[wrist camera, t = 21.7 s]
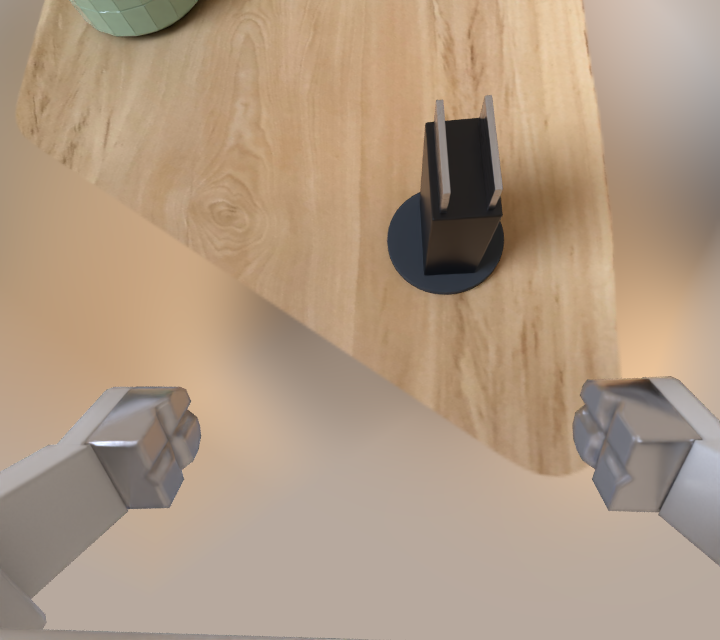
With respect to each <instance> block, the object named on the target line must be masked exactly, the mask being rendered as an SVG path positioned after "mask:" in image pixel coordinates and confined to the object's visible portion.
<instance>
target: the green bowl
mask: <svg viewBox="0 0 720 640" xmlns="http://www.w3.org/2000/svg"><path fill="white" fill-rule="evenodd" d="M69 1H70V2H71V3H72V5H73V6H74V7H75V8H76V10H77V11H78V12H79V13H80V15H81V16H82V17H83V18H84V20H85V21H86V22H88V23H89V24H90V25H92V26H93V27H94V28H95V29H97V30H98V31H101V32H104V33H107V34H111V35H114V36H139V35H144V34H150V33H153V32H157V31H159V30H162V29H164V28H166V27H168V26H170V25H172V24H173V23H175V22H177V21H178V20H179V19H181V18H182V17H183V16H184V15H185V14H186V13H187V12H189V11H190V9H191V8H192V7H193V6H194V5H195V4H196V3H197V1H198V0H69Z"/></svg>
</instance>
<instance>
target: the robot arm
mask: <svg viewBox="0 0 720 640" xmlns="http://www.w3.org/2000/svg"><path fill="white" fill-rule="evenodd" d="M580 396H581V398H582V400H583V401H584V403H585V405H584V406H582V407H581V408H580V409H579V410H578V411H576V412H575V416H574V421H573V439H574V442H575V445H576V449H577V451H578V453H579V455H580V457H581V459H582V460H583V461H584V462H586V463H587V464H588V465H590V466H591V467H593V468H594V469H595V472H594V475H593V478H592V480H593V482H594V484H595V486H596V488H597V490H598V491H599V493H600V495H601V497H602V499H603V501H604V503H605V505H606V506H607V508H608V510H609V511H632V512H635V511H636V512H659V516H661V517H662V518H663V519H664V520H665V521H666V522H668V523H669V524H670V525H671V526H672V527H674V528H675V529H676V530H677V531H678V532H680V533H681V534H682V535H683V536H684V537H686V538H687V539H688V540H689V541H690V542H691V543H693V544H694V545H695V546H696V547H697V548H699V549H700V550H701V551H702V552H703V553H705V554H706V555H707V556H708V557H709V558H711V559H712V560H713V561H714V562H715V563H717V564H718V565H719V566H720V421H719V420H718V419H717V418H716V417H715V416H714V415H713V414H712V413H711V412H710V411H709V410H708V409H707V408H706V407H705V406H704V405H703V404H702V403H701V402H700V401H699V400H698V399H697V398H696V397H695V395H693V394H692V393H691V391H689V390H688V389H687V388H686V387H685V386H684V384H683V383H681V381H679V380H678V379H676V378H673V377H671V376H668V377H643V378H632V379H631V378H629V379H588V380H587V381H586V382H585V383H584V385H583V387H582V390H581V394H580ZM190 403H191V400H190V397H189V395H188V393H187V390H186V389H184V388H182V387H113V388H110V389H107V390H106V391H105V392H104V393H103V394H102V395H101V396H100V397H99V398H98V399H97V401H96V402H95V403H94V404H93V405H92V406H91V407H90V408H89V409H88V411H87V412H86V413H85V414H84V415H83V416H82V417H81V418H80V419H79V420H78V421H77V423H76V424H75V425H74V426H73V427H72V428H71V429H70V430H69V431H68V432H67V433H66V435H65V436H64V437H63V438H62V439H61V440H60V441H59V443H57V445H48V446H46V447H44V448H42V449H40V450H39V451H37V452H35V453H33V454H32V455H30V456H28V457H26V458H24V459H22V460H21V461H19V462H17V463H15V464H14V465H12V466H10V467H8V468H6V469H4V470H3V471H1V472H0V640H364V639H335V638H302V637H270V636H269V637H268V636H237V635H205V634H172V633H140V632H138V633H137V632H108V631H76V630H73V631H72V630H43V627H44V626H45V624H46V616H45V614H44V613H43V612H42V611H41V609H40V608H39V607H38V606H37V605H36V604H35V603H34V602H33V601H32V600H31V598H33V597H34V596H35V595H36V594H37V593H38V592H39V591H40V590H41V589H43V587H45V586H46V585H47V584H48V583H49V582H50V581H51V580H53V579H54V578H55V577H56V576H57V575H58V574H59V573H60V572H61V571H63V570H64V568H66V567H67V566H68V565H69V564H70V563H71V562H72V561H74V560H75V559H76V558H77V557H78V556H79V555H80V554H81V553H82V552H84V551H85V550H86V549H87V548H88V547H89V546H90V545H91V544H92V543H94V542H95V541H96V540H97V539H98V538H99V537H100V536H101V535H102V534H104V533H105V532H106V531H107V530H108V529H109V528H110V527H111V526H112V525H114V523H116V522H117V521H118V520H119V519H120V518H121V517H122V516H124V515H125V514H126V513H127V512H128V509H142V508H143V509H146V508H169V507H170V506H171V504H172V502H173V500H174V498H175V496H176V494H177V492H178V490H179V488H180V486H181V484H182V482H183V480H184V477H183V474H182V469H184V468H185V467H186V466H187V465H189V464H190V463H191V462H193V460H194V458H195V456H196V454H197V452H198V449H199V444H200V439H201V432H200V424H199V421H198V419H197V417H196V416H195V415H194V414H192V413H191V412H190V411H189V410H187V409H188V406H189V405H190ZM365 640H366V639H365Z"/></svg>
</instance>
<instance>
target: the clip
mask: <svg viewBox="0 0 720 640" xmlns="http://www.w3.org/2000/svg"><path fill="white" fill-rule="evenodd" d="M502 190H503V186H502V177H501V169H500V160H499V151H498V143H497V134H496V126H495V117H494V108H493V100H492V95H487V96H485V98H484V102H483V105H482V109H481V113H480V117H479V118H472V119H461V120H450V121H445V116H444V104H443V100H436V107H435V116H434V122H427V123H426V124H425V136H424V149H423V163H422V176H421V190H420V216H421V233H422V249H423V266H424V275H445V274H464V273H475V271H476V269H477V267H478V265H479V263H480V261H481V259H482V257H483V255H484V253H485V251H486V249H487V247H488V244H489V242H490V240H491V238H492V236H493V234H494V232H495V230H496V228H497V226H498V224H499V222H500V220H501V218H502V215H503V213H502V205H501V196H500V194H501V192H502Z"/></svg>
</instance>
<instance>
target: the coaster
mask: <svg viewBox="0 0 720 640" xmlns="http://www.w3.org/2000/svg"><path fill="white" fill-rule="evenodd" d="M387 243H388V251H389V255H390V258H391V261H392V263H393V265H394V267H395V269H396V270H397V271H398V273H399V274H400V275H401V276H402V277H403V278H404V279H405V280H406V281H407V282H409V283H410V284H411V285H413V286H415V287H417V288H418V289H421V290H423V291H426V292H430V293H434V294H457V293H461V292H464V291H467V290H470V289H472V288H474V287H476V286H477V285H479V284H480V283H482V282H483V281H484V280H485V279H486V278H487V277H488V276H489V275H490V274H491V273H492V272H493V270H494V269H495V267H496V265H497V264H498V262H499V260H500V257H501V255H502V251H503V246H504V233H503V228H502V225H501V222H499V224H498V226H497V228H496V230H495V232H494V234H493V236H492V238H491V240H490V242H489V244H488V247H487V249H486V251H485V253H484V255H483V257H482V259H481V261H480V263H479V265H478V267H477V269H476V271H475V273H464V274H445V275H424V266H423V249H422V233H421V216H420V192H419V193H417V194H415V195H414V196H412V197H411V198H409V199H408V200H407V201H405V202H404V203H403V204H402V205H401V206H400V208H399V209H398V210H397V211H396V213H395V214H394V216H393V218H392V220H391V223H390V226H389V230H388V239H387Z"/></svg>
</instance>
